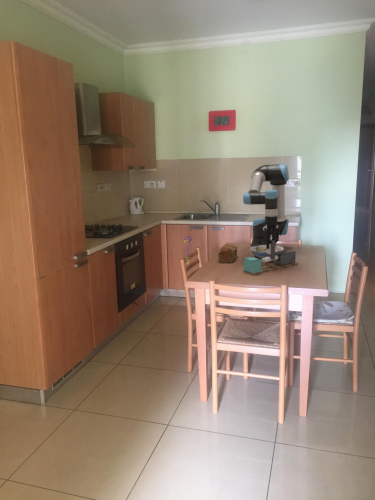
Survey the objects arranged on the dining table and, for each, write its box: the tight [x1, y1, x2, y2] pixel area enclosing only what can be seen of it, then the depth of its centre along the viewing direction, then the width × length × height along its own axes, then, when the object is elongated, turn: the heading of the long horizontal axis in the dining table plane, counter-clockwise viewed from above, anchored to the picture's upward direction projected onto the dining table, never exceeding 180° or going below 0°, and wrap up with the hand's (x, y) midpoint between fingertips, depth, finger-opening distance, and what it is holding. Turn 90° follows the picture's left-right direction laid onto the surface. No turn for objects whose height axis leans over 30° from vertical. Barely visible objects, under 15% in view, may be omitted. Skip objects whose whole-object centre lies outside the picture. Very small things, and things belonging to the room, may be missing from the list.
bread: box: [217, 244, 238, 264], centre depth 271 cm, size 19×11×10 cm, turn 164°
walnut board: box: [242, 261, 299, 276], centre depth 245 cm, size 38×9×1 cm, turn 122°
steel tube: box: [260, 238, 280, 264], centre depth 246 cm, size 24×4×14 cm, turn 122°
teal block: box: [243, 256, 262, 273], centre depth 236 cm, size 6×9×8 cm, turn 32°
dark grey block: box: [273, 249, 297, 266], centre depth 250 cm, size 13×6×8 cm, turn 122°
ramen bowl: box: [249, 243, 285, 259], centre depth 269 cm, size 25×23×8 cm
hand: (271, 253), depth 243 cm, fingers closed on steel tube, 3 cm apart
